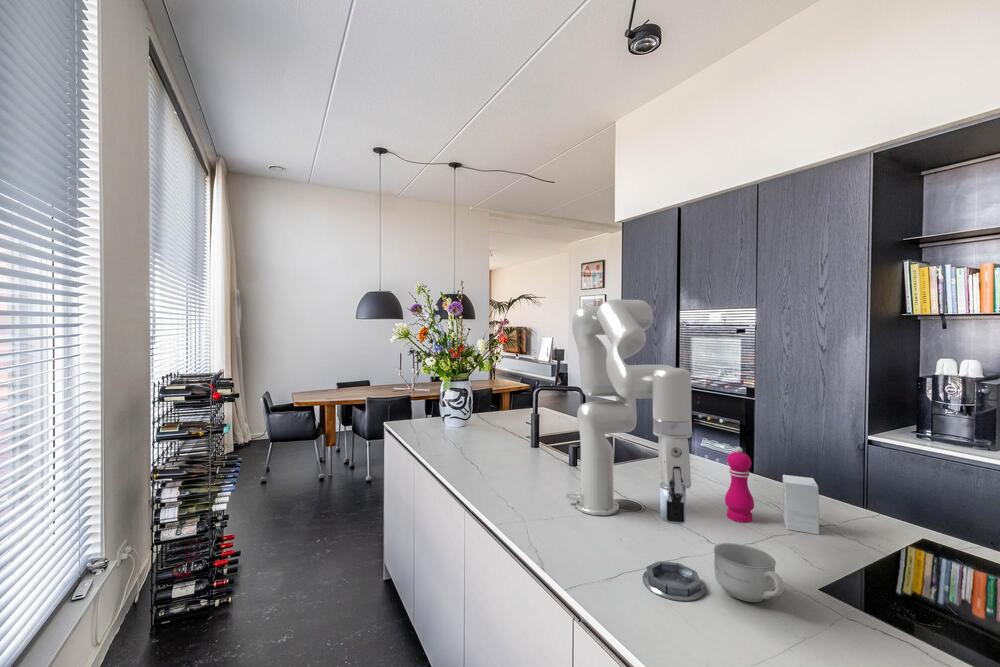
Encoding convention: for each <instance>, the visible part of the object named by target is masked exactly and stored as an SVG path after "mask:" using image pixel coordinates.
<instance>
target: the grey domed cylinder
mask: <svg viewBox="0 0 1000 667" xmlns="http://www.w3.org/2000/svg"><path fill="white" fill-rule="evenodd" d="M670 485H673V486H674V483H671V482H670ZM672 491H674V489H671V494H672ZM667 500H668V487H667V486H666V485H665V484H664V482H663V481H661V482H660V483H659V509H660V510H659V517H660V520H661V521H663V522H664V523H666V524H671V525H684V524H686V523H687V487H685V485H684V484H683V500H684V522H672V521H668V520H667Z"/></svg>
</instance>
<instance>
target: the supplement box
mask: <svg viewBox="0 0 1000 667" xmlns="http://www.w3.org/2000/svg"><path fill="white" fill-rule="evenodd" d="M819 500H820V499H819V485H818V484H817V482H816V481H815V479H814V478H813V477H806V476H797V475H789V474H788V475H787V474H782V508H783V509H782V519H783V521H784V525H785V529H786V530H788V531H795V532H801V533H808V534H815V535H820V516H819V515H820V513H819V512H820V511H819V510H820V508H819V507H820V506H819Z"/></svg>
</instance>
